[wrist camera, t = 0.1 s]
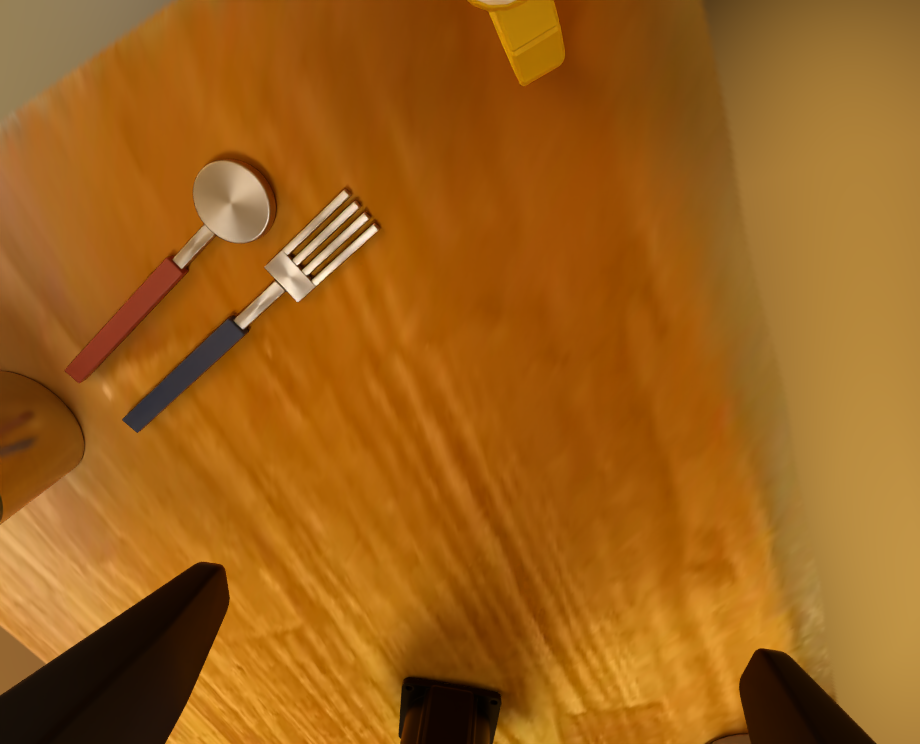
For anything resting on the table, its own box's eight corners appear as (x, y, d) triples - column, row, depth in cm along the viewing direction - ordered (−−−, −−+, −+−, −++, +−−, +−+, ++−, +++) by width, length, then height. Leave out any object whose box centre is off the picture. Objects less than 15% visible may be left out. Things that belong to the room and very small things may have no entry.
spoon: (232, 141, 20) (224, 141, 19) (292, 207, 20) (286, 209, 20) (51, 349, 25) (41, 354, 24) (105, 395, 26) (96, 401, 25)
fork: (346, 188, 20) (342, 189, 19) (380, 228, 20) (377, 231, 20) (120, 408, 26) (112, 413, 25) (151, 435, 26) (144, 440, 26)
